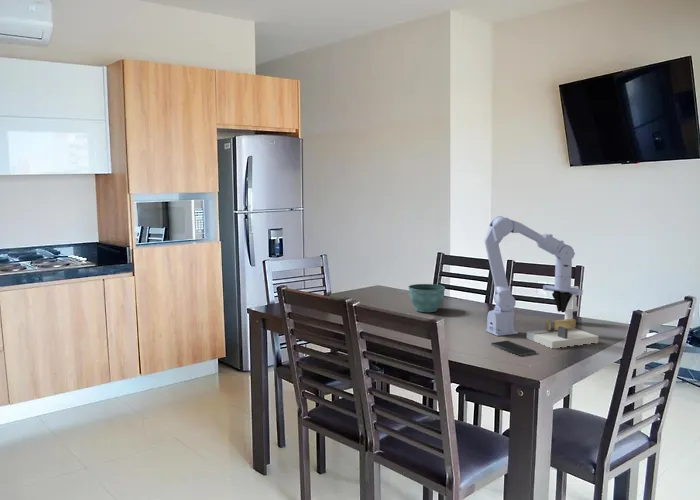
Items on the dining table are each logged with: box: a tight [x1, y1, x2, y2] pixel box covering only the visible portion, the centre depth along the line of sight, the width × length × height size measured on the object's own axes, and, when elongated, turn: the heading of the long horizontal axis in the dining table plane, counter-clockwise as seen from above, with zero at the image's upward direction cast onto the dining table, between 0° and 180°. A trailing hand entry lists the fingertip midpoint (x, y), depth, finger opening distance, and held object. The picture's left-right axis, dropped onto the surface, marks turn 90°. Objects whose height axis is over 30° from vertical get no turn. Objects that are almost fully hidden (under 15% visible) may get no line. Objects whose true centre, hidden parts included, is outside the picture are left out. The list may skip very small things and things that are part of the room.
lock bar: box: [545, 318, 577, 331], centre depth 212 cm, size 12×3×3 cm, turn 110°
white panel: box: [526, 326, 600, 349], centre depth 207 cm, size 20×14×6 cm
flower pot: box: [408, 283, 446, 313], centre depth 255 cm, size 16×16×11 cm
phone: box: [490, 340, 537, 357], centre depth 196 cm, size 8×1×15 cm
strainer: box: [564, 285, 580, 319], centre depth 233 cm, size 7×7×15 cm
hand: (561, 311), depth 216 cm, fingers closed
